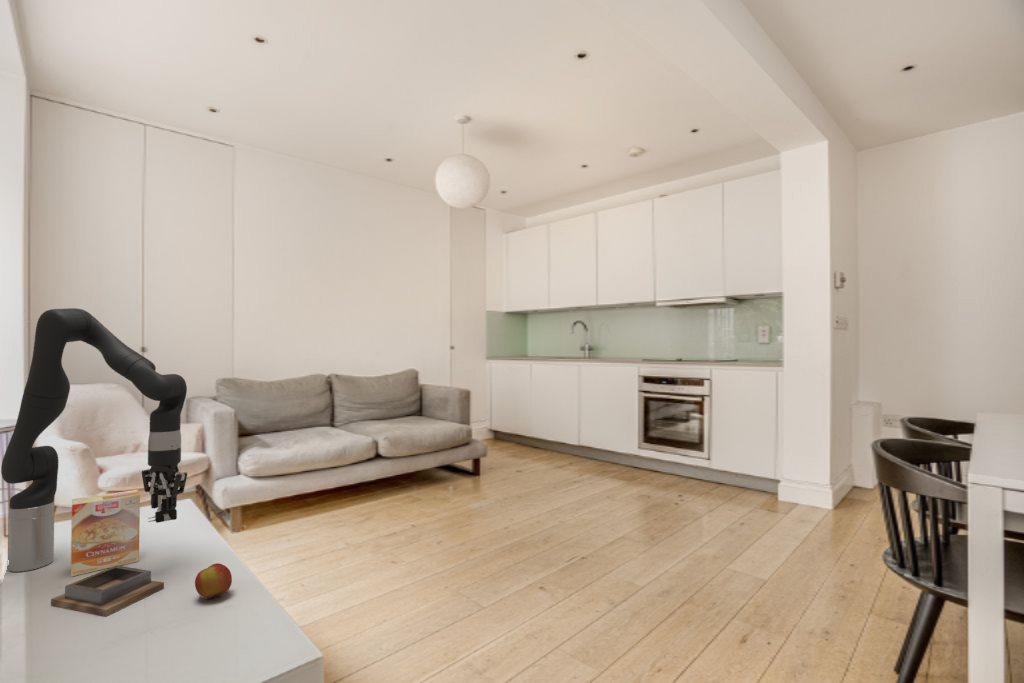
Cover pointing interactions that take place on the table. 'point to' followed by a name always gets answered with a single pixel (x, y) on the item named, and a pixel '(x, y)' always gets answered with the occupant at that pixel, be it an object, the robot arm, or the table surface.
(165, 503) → the push button
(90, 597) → the socket
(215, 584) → the apple
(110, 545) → the coffeecake box
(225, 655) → the table surface
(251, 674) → the table surface
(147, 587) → the mounting board
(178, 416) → the robot arm
